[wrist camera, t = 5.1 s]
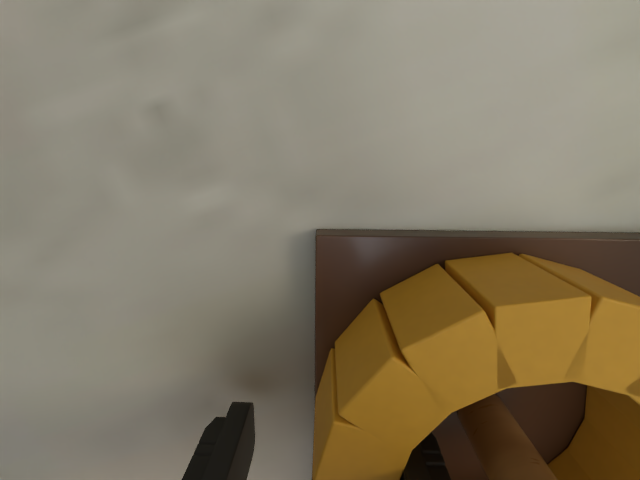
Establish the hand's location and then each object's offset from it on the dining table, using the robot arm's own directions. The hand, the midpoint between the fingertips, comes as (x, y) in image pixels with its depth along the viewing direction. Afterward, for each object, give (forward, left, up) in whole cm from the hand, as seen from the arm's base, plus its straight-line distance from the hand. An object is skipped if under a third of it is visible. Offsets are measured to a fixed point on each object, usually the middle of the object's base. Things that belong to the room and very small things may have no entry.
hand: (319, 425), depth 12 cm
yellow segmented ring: (+5, +4, -1) cm, 6 cm away
